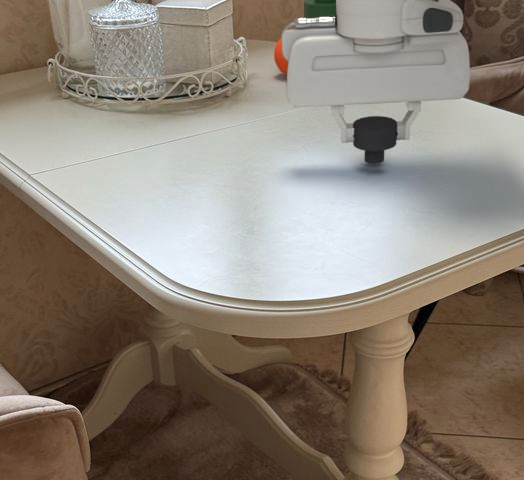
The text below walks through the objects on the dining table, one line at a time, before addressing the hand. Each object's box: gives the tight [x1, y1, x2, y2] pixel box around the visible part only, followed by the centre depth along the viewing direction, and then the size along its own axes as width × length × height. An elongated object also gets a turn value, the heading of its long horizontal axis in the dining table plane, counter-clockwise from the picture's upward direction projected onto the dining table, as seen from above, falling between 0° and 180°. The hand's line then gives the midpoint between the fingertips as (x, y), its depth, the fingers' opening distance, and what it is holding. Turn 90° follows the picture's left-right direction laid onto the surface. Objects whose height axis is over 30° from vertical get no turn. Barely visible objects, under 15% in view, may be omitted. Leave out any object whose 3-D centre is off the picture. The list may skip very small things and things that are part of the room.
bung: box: [352, 115, 398, 165], centre depth 92 cm, size 5×5×4 cm
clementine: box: [273, 37, 288, 76], centre depth 126 cm, size 8×7×7 cm
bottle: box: [303, 0, 336, 28], centre depth 115 cm, size 7×7×17 cm
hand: (375, 139), depth 92 cm, fingers closed on bung, 5 cm apart
